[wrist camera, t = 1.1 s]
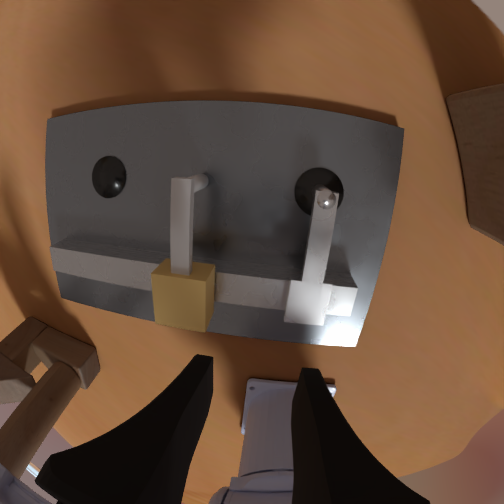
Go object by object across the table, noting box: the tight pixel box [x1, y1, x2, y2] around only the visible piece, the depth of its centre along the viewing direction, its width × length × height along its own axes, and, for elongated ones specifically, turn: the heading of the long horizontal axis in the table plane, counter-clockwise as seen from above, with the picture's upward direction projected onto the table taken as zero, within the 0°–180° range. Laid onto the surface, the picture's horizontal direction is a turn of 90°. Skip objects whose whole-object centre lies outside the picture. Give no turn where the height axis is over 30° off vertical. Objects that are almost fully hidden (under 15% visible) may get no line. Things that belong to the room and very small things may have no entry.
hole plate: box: [45, 101, 404, 347], centre depth 17 cm, size 16×26×4 cm, turn 85°
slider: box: [151, 174, 215, 333], centre depth 15 cm, size 8×3×4 cm, turn 175°
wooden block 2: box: [0, 317, 100, 479], centre depth 16 cm, size 4×11×18 cm, turn 80°
